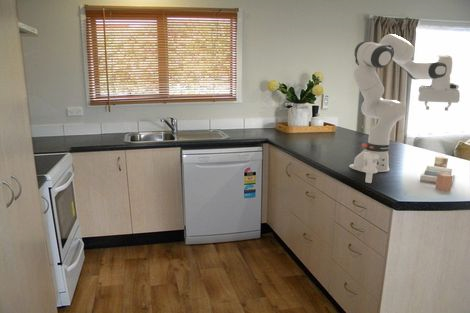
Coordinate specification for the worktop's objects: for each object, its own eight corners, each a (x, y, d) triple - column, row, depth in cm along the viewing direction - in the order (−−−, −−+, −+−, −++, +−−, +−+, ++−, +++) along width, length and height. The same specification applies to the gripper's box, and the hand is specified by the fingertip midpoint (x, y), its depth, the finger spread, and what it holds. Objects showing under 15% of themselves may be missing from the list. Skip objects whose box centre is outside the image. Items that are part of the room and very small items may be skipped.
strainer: (360, 179, 181) (363, 150, 177) (375, 180, 179) (378, 151, 175) (361, 183, 174) (364, 153, 170) (376, 184, 172) (380, 154, 168)
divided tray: (451, 186, 173) (452, 180, 172) (419, 180, 180) (420, 175, 179) (453, 174, 193) (454, 169, 193) (424, 170, 201) (425, 165, 200)
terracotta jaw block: (450, 190, 166) (452, 176, 165) (441, 190, 166) (443, 176, 164) (444, 187, 171) (446, 173, 169) (435, 187, 170) (437, 173, 169)
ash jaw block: (438, 170, 201) (440, 158, 199) (433, 168, 205) (435, 156, 204) (446, 170, 201) (448, 158, 200) (441, 168, 206) (442, 156, 204)
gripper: (419, 85, 199) (416, 109, 203) (462, 85, 191) (458, 111, 194) (419, 84, 205) (416, 108, 208) (460, 85, 197) (456, 110, 200)
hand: (436, 110), depth 201 cm, fingers open, 8 cm apart
